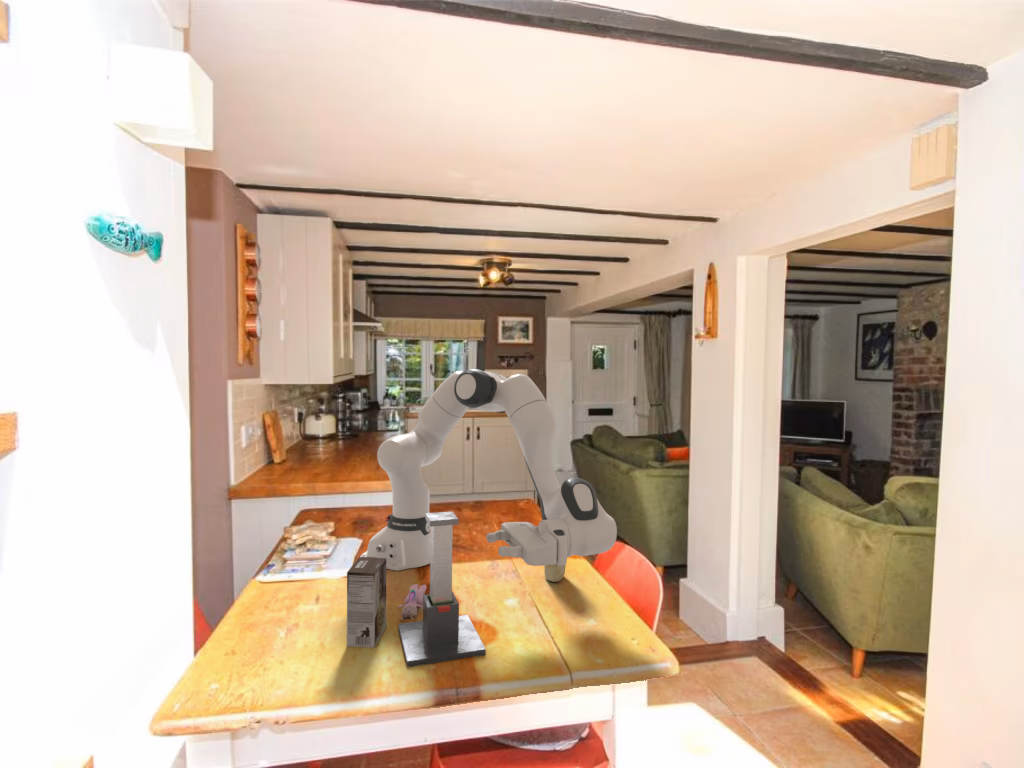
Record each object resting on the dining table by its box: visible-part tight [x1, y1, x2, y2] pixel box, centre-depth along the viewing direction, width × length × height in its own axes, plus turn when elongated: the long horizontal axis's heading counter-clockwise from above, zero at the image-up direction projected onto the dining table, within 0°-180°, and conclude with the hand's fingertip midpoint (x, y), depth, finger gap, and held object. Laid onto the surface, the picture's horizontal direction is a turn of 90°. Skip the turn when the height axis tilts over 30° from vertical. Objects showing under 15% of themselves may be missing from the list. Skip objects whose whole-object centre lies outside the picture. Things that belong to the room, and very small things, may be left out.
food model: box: [543, 561, 568, 583], centre depth 151 cm, size 10×7×20 cm
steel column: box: [425, 511, 459, 606], centre depth 115 cm, size 6×6×21 cm
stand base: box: [397, 590, 487, 668], centre depth 115 cm, size 16×16×9 cm
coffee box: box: [346, 556, 387, 649], centre depth 116 cm, size 9×6×16 cm
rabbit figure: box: [398, 583, 427, 623], centre depth 131 cm, size 6×6×15 cm
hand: (492, 544), depth 118 cm, fingers open, 8 cm apart
